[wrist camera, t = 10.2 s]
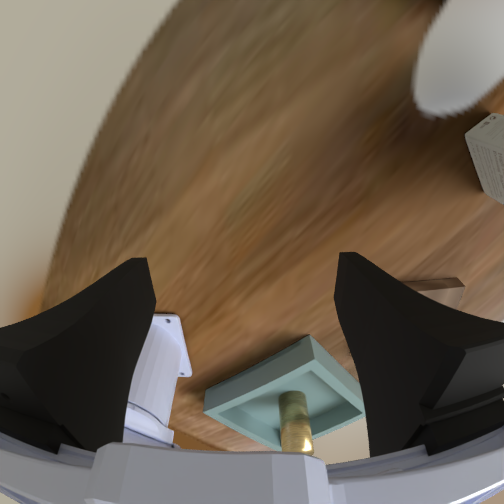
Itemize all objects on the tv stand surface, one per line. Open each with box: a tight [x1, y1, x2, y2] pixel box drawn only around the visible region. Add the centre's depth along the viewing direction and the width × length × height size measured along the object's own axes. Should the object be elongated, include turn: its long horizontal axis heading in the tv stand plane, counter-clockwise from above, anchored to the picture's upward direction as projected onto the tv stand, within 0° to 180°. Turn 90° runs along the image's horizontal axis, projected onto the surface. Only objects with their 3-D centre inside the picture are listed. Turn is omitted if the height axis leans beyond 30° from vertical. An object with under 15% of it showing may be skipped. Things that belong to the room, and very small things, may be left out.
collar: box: [402, 278, 465, 310], centre depth 25 cm, size 8×8×2 cm
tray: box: [203, 335, 366, 451], centre depth 30 cm, size 13×13×3 cm
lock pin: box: [278, 391, 314, 456], centre depth 27 cm, size 3×3×7 cm
